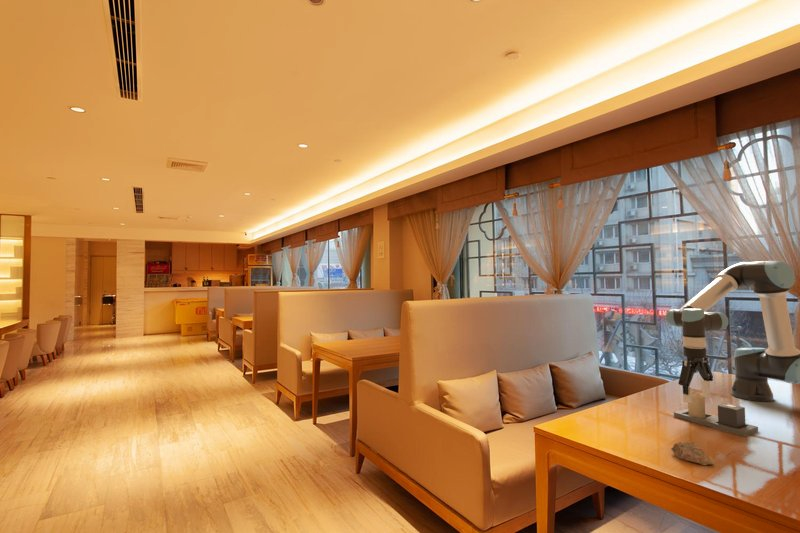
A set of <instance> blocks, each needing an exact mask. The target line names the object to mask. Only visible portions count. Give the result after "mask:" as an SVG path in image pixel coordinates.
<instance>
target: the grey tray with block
mask: <svg viewBox="0 0 800 533" xmlns="http://www.w3.org/2000/svg"><path fill="white" fill-rule="evenodd" d="M673 417H674V418H677V419H681V420H685V421H687V422H692V423H695V424H698V425H702V426H705V427H708V428H713V429H717V430H720V431H723V432H726V433H731V434H733V435H736V436H741V437H747V436H750V435H753V434H755V433H758V432H759V426H758V425H753V424H749V423H746V408H745V407H744V406H740V405H737V404H732V403H728V402H726V403H721V404H717V415H716V414H715V415H714V414H710V413H707V412H705V418H703V419H700V418H697V417H693V416H689V411H688V408H684V409H680V410H677V411H674V412H673Z"/></svg>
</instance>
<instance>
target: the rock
mask: <svg viewBox="0 0 800 533" xmlns="http://www.w3.org/2000/svg"><path fill="white" fill-rule="evenodd" d="M670 450H671V451H672V452H673V453H674V456H675V458H677V459H679V460H683V461H687V462H691V463H695V464H696V463H697V464H700V465H701V466H702V465H703V466H708V465H714V464H715V461H714V459H713V458H712V456H710V455H709V454H708V453H705V451H704V450H703V449H702V448H701V447H700V446H699V445H698V444H697V443H695V442H689V441H681V442H676V443H674V444H673V447H671V449H670Z"/></svg>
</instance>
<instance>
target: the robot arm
mask: <svg viewBox="0 0 800 533" xmlns="http://www.w3.org/2000/svg"><path fill="white" fill-rule="evenodd" d="M795 280H796V276H795V272H794V269H793V267H792V266H791V265H790V264H789V263H787V262H785V261H782V260H781V261H780V260H762V261H758V260H757V261H742V262H738V263H735V264H733V265H731V266H728V267H727V268H725V269H724V270H722V271H720V272H719V273H718V274H716V276H715V277H714V279H713V281H712V282H710V283H709V284H708V285H707V286H705V287H704V288H703V289H702V290H701V291H699V292H697V294H696V295H694V296H693V297H692V298H691V299H689V300H688V301H687V302H685V303H684V304H683V305H682V306H680V307H679V308H678V309H677V308H673V309H669V310H668V311H667V312H666V314H665V320H666V322H667V324H669V326H673V327H678V328H682V338H681V339H682V342H683V343H682V344H683V356H684V357H687V358H686V359H687V360H684V359H683V360H682V361H681V363H682V364H681V366H682V367H681V371H680V376H679V378H678V379H679V380H678V385H680V386H682V401H683V403H687V404H688V403H692V397H691V392H692V386H690V385H691V383H692V380H693V377H694V375H695V373H699V375H700V377H701V378H702V379H701V394H702V395H703V396H704V397H705V398H706V397H707V398H711V382H713V381H714V379H713V378H714V376H713V373H712V370H711V367H710V363H709V359H708V358H709V357H707V348H706V347H707V339H706V332H712V331H713V332H714V331H718V332H719V331H721V330H724V329H726V328H727V327H728V326H729V322H730V321H729V318H728V317H727V315H726V314H725V313H724V312H720V311H708V310H710V308H711V309H712V307H713V306H714V305H715V304H716V303H718V302H719V301H720V300H722V299H723V298H724V297H725V296H726V295H728V293H733V292H735V291H736V290H737V289H740V288H753V289H752V290H753V293H754V294H755V295H756V296H758V297H759V303H760V308H761V312H762V319H763V324H764V331H765V334H766V340H767V345H768V347H767V348H764V347H739V348H738V347H737V348H736V349H735V350H734V355H733V356H734V357H733V358H734V374H735V378H734V380H733V384H732V386H731V389H730V390H731V391H730V392H731V393H730V394H731V395H732V396H734V397H736V398H738V399H743V400H748V401H754V402H772V401H774V394H773V392H772V388H771V387H770V385H769V382H768V379H771V380H774V381H775V380H776V381H781V382H785V383H788V384H791V383H792V384H797V385H798V384H800V349H799V348H796V346H795V340H794V339H795V338H794V333H793V329H792V324H791V323H792V322H791V317H790V313H789V307H788V302H787V295H786V294H787V293H788V292H790V288H791V287H793V286H794V284H795Z"/></svg>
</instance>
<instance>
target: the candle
mask: <svg viewBox="0 0 800 533" xmlns="http://www.w3.org/2000/svg"><path fill="white" fill-rule="evenodd" d="M691 397H692V403H687V405H688V411H689V416H693V417H697V418H700V419H703V418H705V413H706V397H705V396H703V395H702V393H701V392H698V391H691Z"/></svg>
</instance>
